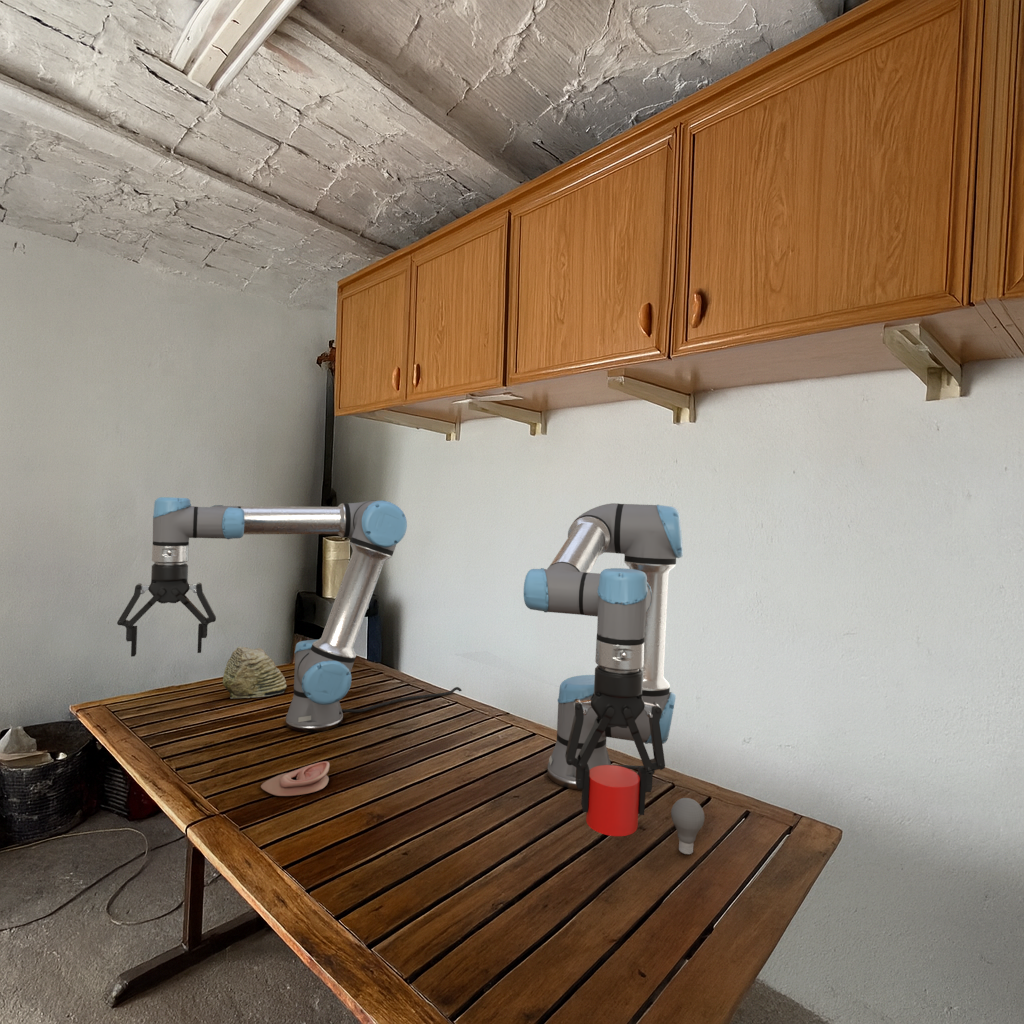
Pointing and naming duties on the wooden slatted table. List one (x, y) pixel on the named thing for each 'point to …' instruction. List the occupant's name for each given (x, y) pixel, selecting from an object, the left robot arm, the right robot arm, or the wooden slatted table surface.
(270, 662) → the fossil
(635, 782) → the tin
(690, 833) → the light bulb
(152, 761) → the wooden slatted table surface
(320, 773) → the anatomical model
